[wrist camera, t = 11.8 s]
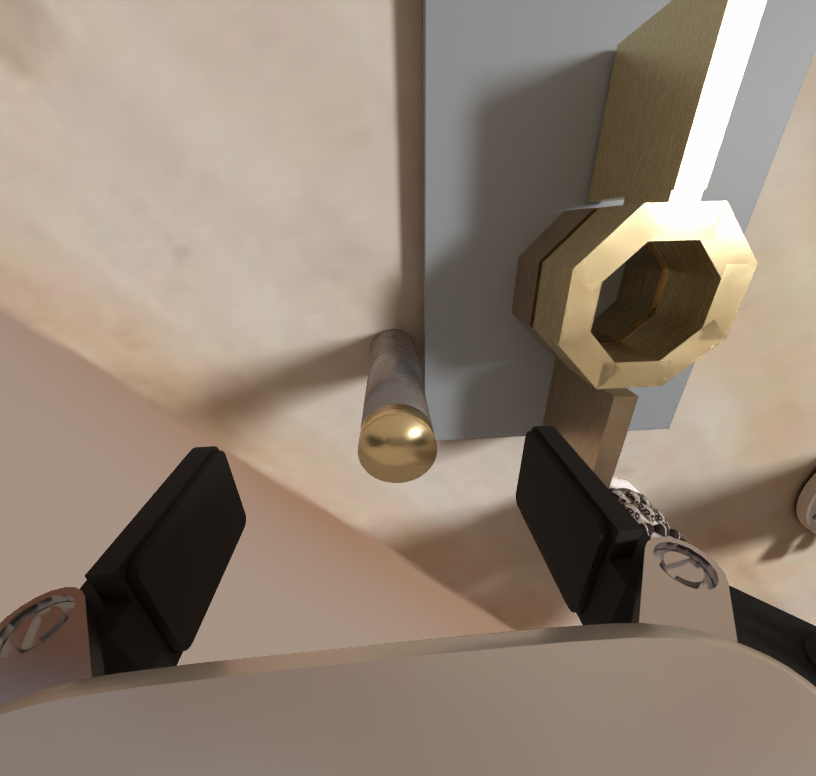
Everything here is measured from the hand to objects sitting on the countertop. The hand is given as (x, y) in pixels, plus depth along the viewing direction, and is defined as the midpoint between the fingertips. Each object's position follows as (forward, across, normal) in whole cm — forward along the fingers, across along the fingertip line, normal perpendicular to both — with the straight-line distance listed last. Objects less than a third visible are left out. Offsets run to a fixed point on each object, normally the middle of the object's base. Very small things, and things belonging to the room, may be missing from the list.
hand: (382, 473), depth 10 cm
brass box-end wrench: (+11, -12, -7) cm, 17 cm away
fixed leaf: (+11, -12, 0) cm, 16 cm away
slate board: (+12, -12, -7) cm, 18 cm away
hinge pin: (+12, -1, 0) cm, 12 cm away
